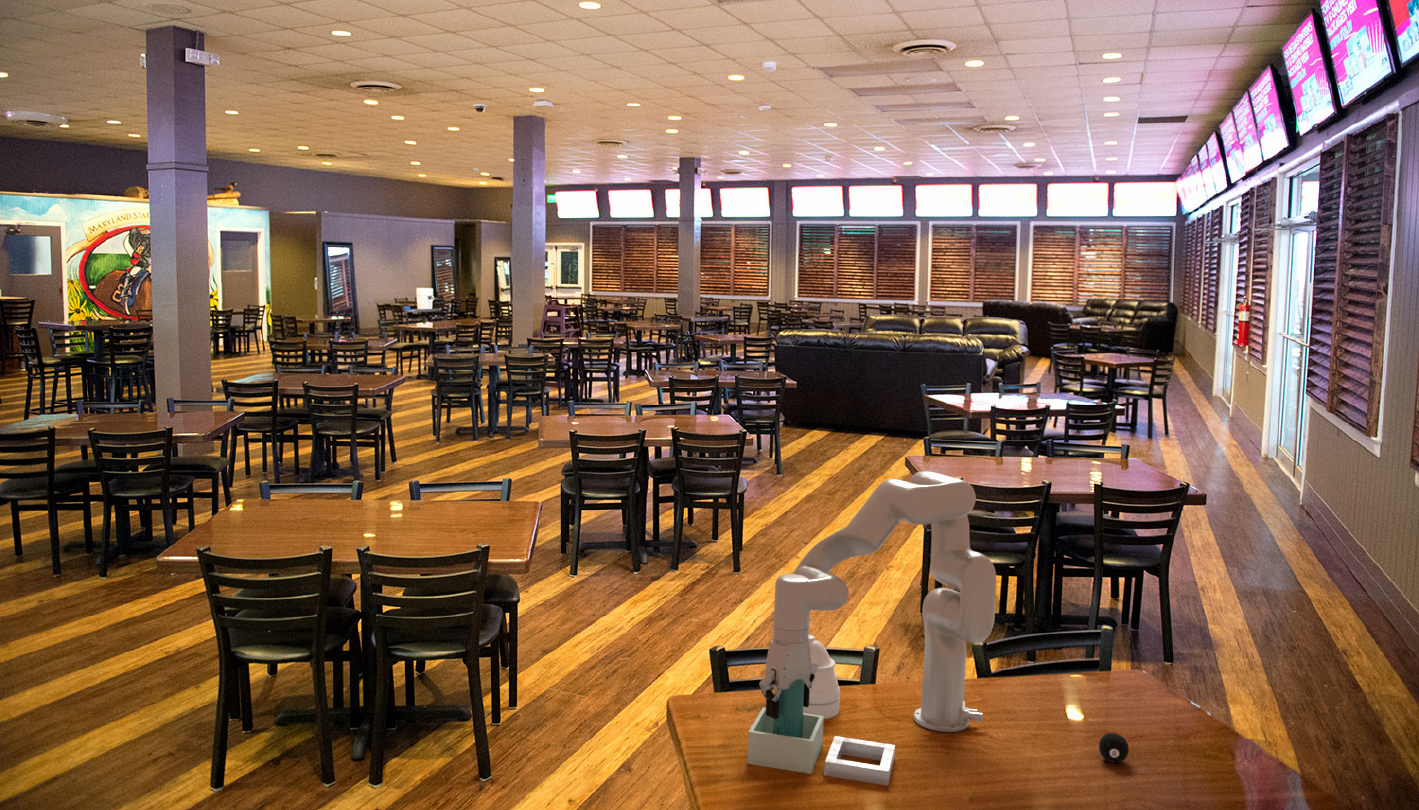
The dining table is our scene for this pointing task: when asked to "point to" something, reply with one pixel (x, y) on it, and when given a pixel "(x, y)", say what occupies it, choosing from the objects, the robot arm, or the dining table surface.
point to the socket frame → (856, 769)
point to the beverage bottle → (790, 711)
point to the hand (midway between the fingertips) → (787, 711)
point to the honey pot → (823, 683)
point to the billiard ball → (1113, 747)
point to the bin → (785, 744)
